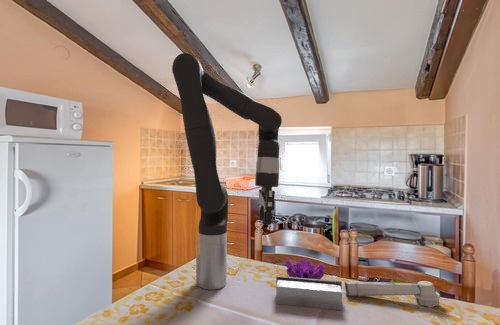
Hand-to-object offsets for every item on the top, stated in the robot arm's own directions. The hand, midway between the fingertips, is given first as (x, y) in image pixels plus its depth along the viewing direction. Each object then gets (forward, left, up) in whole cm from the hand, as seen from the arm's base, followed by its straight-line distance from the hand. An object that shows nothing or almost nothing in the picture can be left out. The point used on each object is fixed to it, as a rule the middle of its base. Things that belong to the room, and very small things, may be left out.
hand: (264, 222), depth 90 cm
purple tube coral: (+13, +7, -21) cm, 26 cm away
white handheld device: (+38, 0, -22) cm, 43 cm away
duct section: (+14, -7, -21) cm, 26 cm away
